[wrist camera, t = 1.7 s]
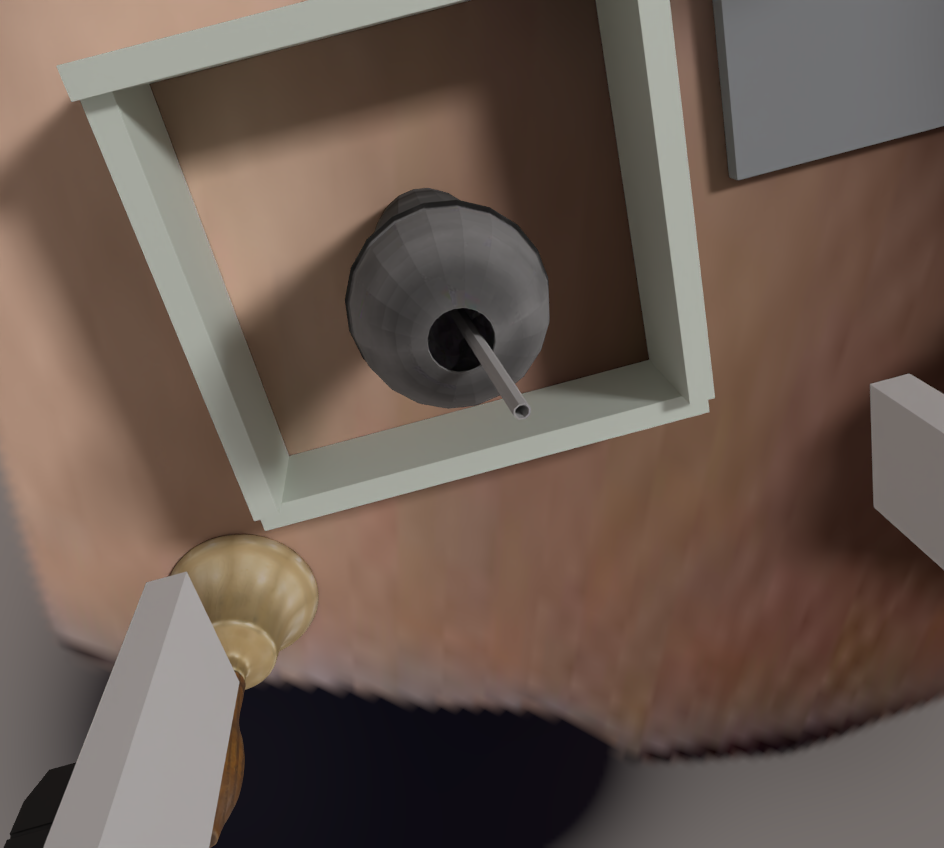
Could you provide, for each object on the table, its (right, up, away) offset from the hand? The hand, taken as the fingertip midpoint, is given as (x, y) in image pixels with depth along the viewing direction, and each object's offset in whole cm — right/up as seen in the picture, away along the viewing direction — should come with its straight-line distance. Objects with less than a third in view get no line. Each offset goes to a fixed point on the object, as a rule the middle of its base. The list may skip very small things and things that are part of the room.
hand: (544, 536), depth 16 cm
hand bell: (-14, -7, +32) cm, 35 cm away
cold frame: (-4, +11, +24) cm, 27 cm away
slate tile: (+16, +21, +22) cm, 34 cm away
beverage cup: (-4, +11, +24) cm, 27 cm away
